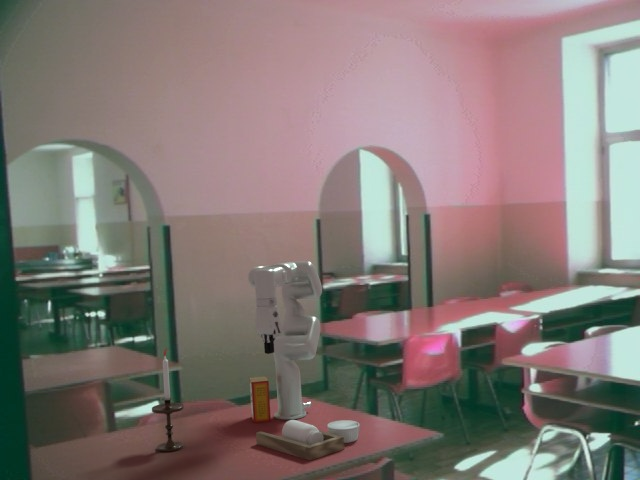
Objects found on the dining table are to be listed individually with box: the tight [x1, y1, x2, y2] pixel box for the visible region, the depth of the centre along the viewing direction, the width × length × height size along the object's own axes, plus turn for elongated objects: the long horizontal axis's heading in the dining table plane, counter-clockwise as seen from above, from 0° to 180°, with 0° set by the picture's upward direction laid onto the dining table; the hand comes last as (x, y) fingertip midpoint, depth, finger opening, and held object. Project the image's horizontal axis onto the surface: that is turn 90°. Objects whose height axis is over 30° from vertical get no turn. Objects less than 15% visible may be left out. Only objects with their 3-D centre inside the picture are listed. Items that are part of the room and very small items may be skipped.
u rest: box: [255, 430, 345, 461], centre depth 239 cm, size 15×28×4 cm, turn 42°
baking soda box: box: [248, 376, 272, 424], centre depth 278 cm, size 10×6×16 cm
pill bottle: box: [281, 419, 323, 445], centre depth 239 cm, size 8×8×15 cm
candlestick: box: [151, 347, 185, 453], centre depth 246 cm, size 11×11×35 cm
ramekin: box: [326, 419, 361, 444], centre depth 245 cm, size 11×11×5 cm
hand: (269, 352), depth 259 cm, fingers closed
